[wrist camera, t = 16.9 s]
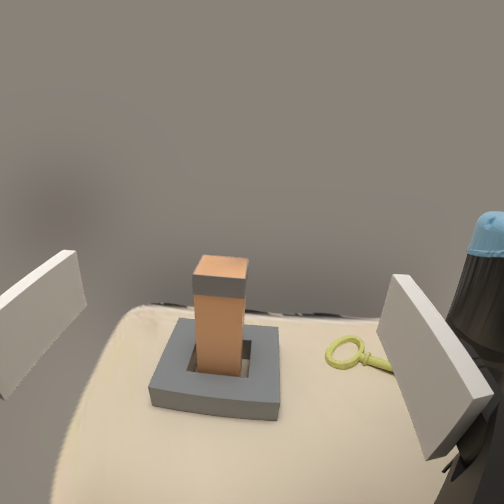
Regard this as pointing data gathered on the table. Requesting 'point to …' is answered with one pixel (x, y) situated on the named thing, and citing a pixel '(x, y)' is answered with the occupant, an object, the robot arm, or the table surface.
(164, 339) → the table surface
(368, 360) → the key
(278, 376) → the socket block
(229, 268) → the plug
